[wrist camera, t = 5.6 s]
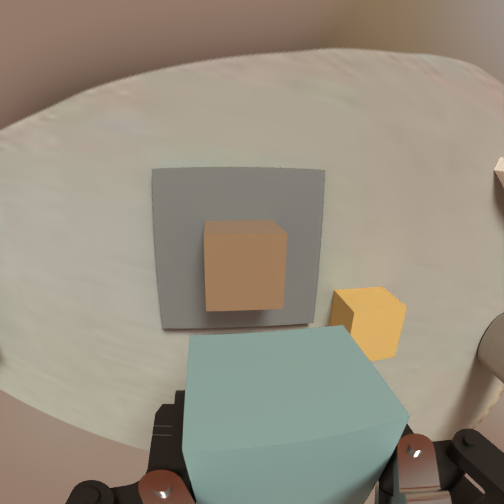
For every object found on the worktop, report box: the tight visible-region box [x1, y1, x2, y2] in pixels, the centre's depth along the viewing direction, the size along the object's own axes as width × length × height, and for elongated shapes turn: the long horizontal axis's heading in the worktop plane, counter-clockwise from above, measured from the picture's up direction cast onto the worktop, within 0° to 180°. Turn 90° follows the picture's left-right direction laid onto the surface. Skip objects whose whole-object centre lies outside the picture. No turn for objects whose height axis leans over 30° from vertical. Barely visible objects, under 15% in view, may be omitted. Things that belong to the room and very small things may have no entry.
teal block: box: [182, 325, 410, 504], centre depth 9 cm, size 6×6×5 cm
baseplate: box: [152, 167, 325, 328], centre depth 24 cm, size 14×14×6 cm
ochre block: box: [329, 287, 407, 361], centre depth 28 cm, size 6×6×5 cm
